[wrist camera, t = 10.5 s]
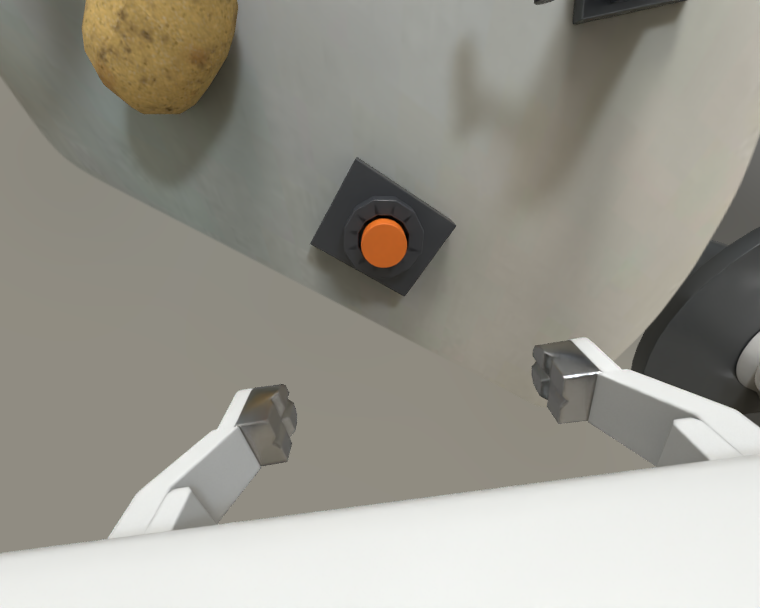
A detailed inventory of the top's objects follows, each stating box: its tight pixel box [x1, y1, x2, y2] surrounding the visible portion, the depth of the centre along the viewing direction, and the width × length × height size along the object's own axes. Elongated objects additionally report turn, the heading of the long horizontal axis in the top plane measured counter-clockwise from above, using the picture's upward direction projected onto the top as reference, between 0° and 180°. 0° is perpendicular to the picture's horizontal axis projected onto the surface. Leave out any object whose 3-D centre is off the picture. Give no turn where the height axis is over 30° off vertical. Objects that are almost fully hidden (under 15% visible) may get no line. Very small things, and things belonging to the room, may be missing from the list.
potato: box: [82, 0, 238, 114], centre depth 20 cm, size 7×11×6 cm, turn 134°
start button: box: [361, 218, 407, 268], centre depth 25 cm, size 4×4×2 cm
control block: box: [311, 157, 456, 296], centre depth 28 cm, size 10×8×4 cm
